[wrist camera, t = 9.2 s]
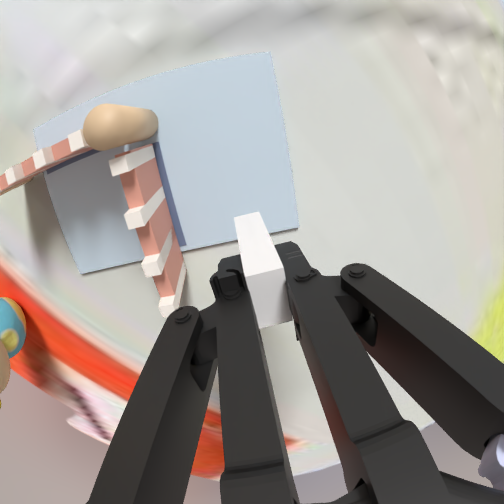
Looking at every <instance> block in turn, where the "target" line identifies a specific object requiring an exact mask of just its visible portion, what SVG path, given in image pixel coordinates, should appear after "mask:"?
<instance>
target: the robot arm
mask: <svg viewBox="0 0 504 504" xmlns="http://www.w3.org/2000/svg"><path fill="white" fill-rule="evenodd" d="M234 221H235V227H236V233H237V238H238V244H239V249H240V254H239V255H235V256H231V257H227V258H223V259H221V261H220V262H219V264H218V271H217V272H216V273H214V274H213V275H212V276H211V278H210V284H211V287H212V290H213V293H214V295H215V298H216V301H215V302H214V303H213V304H212V305H211V306H209V307H207V308H206V309H203V310H201V311H198V309H197V308H195V307H193V306H185V307H181V308H178V309H176V310H175V311H173V312H172V313H171V314H170V315H169V316H168V318H167V320H166V322H165V324H164V326H163V328H162V330H161V332H160V334H159V336H158V338H157V340H156V342H155V344H154V347H153V349H152V351H151V353H150V355H149V357H148V359H147V361H146V364H145V366H144V368H143V370H142V372H141V374H140V376H139V379H138V381H137V383H136V385H135V388H134V390H133V392H132V394H131V396H130V399H129V401H128V403H127V406H126V408H125V410H124V412H123V415H122V417H121V419H120V422H119V424H118V427H117V429H116V431H115V434H114V436H113V439H112V441H111V443H110V446H109V449H108V451H107V453H106V456H105V458H104V461H103V464H102V466H101V469H100V471H99V474H98V477H97V479H96V482H95V485H94V488H93V490H92V493H91V496H90V498H89V501H88V502H87V503H86V504H183V502H184V498H185V494H186V489H187V485H188V481H189V477H190V473H191V469H192V465H193V461H194V457H195V453H196V449H197V445H198V441H199V437H200V433H201V429H202V425H203V421H204V417H205V413H206V409H207V405H208V401H209V397H210V394H211V390H212V386H213V382H214V378H215V374H216V370H217V366H218V376H219V394H220V409H221V424H222V437H223V449H224V460H225V470H224V472H223V473H222V474H221V478H220V493H221V503H222V504H300V502H299V498H298V494H297V491H296V487H295V484H294V480H293V475H292V471H291V467H290V463H289V458H288V454H287V450H286V445H285V441H284V436H283V432H282V428H281V423H280V419H279V414H278V410H277V406H276V401H275V397H274V392H273V388H272V383H271V379H270V374H269V370H268V365H267V361H266V356H265V351H264V347H263V342H262V338H261V334H260V330H259V329H261V328H265V327H269V326H273V325H277V324H281V323H285V322H289V321H292V320H293V319H294V325H295V331H296V338H297V341H298V340H299V341H300V344H301V347H302V349H303V352H304V355H305V358H306V361H307V364H308V367H309V369H310V372H311V375H312V378H313V381H314V384H315V387H316V390H317V393H318V395H319V398H320V401H321V404H322V407H323V410H324V413H325V416H326V419H327V422H328V425H329V428H330V431H331V434H332V437H333V440H334V443H335V446H336V449H337V452H338V455H339V458H340V461H341V464H342V467H343V472H344V479H345V483H346V487H347V490H348V494H346V495H344V496H343V497H341V498H339V499H337V500H336V501H333V502H329V503H313V504H504V364H503V363H502V362H501V361H499V360H498V359H497V358H496V357H494V356H493V355H492V354H491V353H489V352H488V351H487V350H486V349H484V348H483V347H482V346H481V345H479V344H478V343H477V342H475V341H474V340H473V339H472V338H470V337H469V336H468V335H466V334H465V333H464V332H462V331H461V330H460V329H458V328H457V327H456V326H454V325H453V324H452V323H450V322H449V321H448V320H446V319H445V318H444V317H442V316H441V315H439V314H438V313H437V312H435V311H434V310H433V309H431V308H430V307H428V306H427V305H426V304H424V303H423V302H421V301H420V300H418V299H417V298H416V297H414V296H413V295H411V294H410V293H408V292H407V291H406V290H404V289H403V288H401V287H400V286H398V285H397V284H395V283H394V282H392V281H391V280H389V279H388V278H386V277H385V276H383V275H382V274H380V273H379V272H377V271H376V270H374V269H373V268H371V267H370V266H368V265H365V264H360V263H354V264H350V265H347V266H345V267H344V268H342V270H341V272H340V274H341V276H323V275H321V274H320V272H319V271H318V270H317V269H314V268H312V267H311V266H310V265H309V263H308V261H307V260H306V258H305V256H304V255H303V253H302V251H301V250H300V248H299V246H298V245H297V244H295V243H293V242H291V241H290V242H285V243H281V244H277V245H274V244H273V242H272V240H271V237H270V235H269V233H268V231H267V228H266V226H265V224H264V222H263V219H262V217H261V215H260V213H259V211H258V212H254V213H250V214H246V215H242V216H237V217H234ZM292 316H293V319H292ZM366 351H367V352H368V353H369V354H370V355H371V356H372V357H373V358H374V359H375V360H376V361H377V362H378V363H379V364H380V365H381V366H382V367H383V368H384V369H385V370H386V371H387V372H388V374H389V375H390V376H391V377H392V378H393V379H394V380H395V381H396V382H397V383H398V384H399V385H400V386H401V387H402V388H403V389H404V390H405V391H406V392H407V393H408V394H409V395H410V396H411V397H412V398H413V399H414V400H415V401H416V402H417V403H418V404H419V405H420V406H421V407H422V408H423V409H424V410H425V411H426V412H427V413H428V414H429V415H430V416H431V417H432V418H433V420H434V421H435V422H436V423H437V424H438V425H439V426H440V427H441V428H442V429H443V430H444V431H445V432H446V433H447V434H448V435H449V436H450V437H451V438H452V439H453V440H454V441H455V442H456V443H457V444H458V445H459V446H460V447H461V448H462V449H463V450H465V451H466V452H468V453H469V454H471V455H472V456H474V457H476V458H478V459H480V460H481V464H480V465H479V468H478V472H479V475H480V476H482V477H486V478H487V479H489V480H490V481H491V483H492V485H493V488H490V487H486V486H483V485H480V484H477V483H473V482H470V481H467V480H464V479H461V478H458V477H455V476H453V475H450V474H447V473H444V472H441V471H439V470H438V468H437V466H436V464H435V462H434V460H433V457H432V455H431V453H430V451H429V449H428V447H427V445H426V443H425V441H424V439H423V437H422V435H421V433H420V431H419V430H418V428H417V426H416V425H415V424H414V423H413V422H412V421H408V420H404V419H403V418H402V416H401V415H400V413H399V411H398V409H397V407H396V405H395V403H394V402H393V400H392V398H391V396H390V394H389V392H388V390H387V388H386V386H385V384H384V383H383V381H382V379H381V377H380V375H379V373H378V372H377V370H376V368H375V366H374V364H373V362H372V361H371V359H370V357H369V355H368V353H367V352H366Z"/></svg>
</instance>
